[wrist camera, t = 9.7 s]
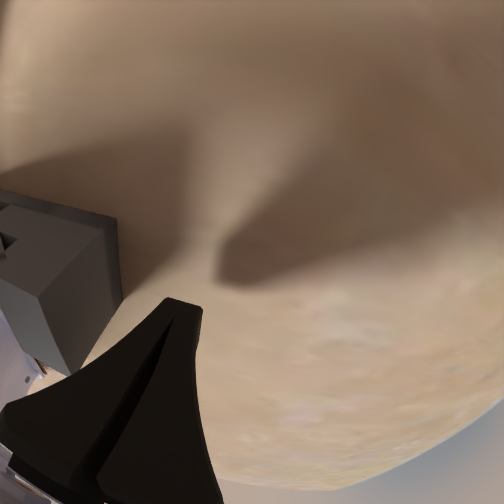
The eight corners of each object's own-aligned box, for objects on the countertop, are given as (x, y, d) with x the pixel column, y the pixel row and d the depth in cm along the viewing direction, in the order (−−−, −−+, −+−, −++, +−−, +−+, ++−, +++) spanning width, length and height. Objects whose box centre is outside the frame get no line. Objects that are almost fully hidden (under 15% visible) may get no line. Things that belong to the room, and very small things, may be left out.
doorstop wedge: (116, 218, 11) (37, 297, 6) (123, 300, 13) (73, 379, 9) (-13, 186, 11) (-74, 229, 6) (1, 251, 13) (-47, 298, 9)
